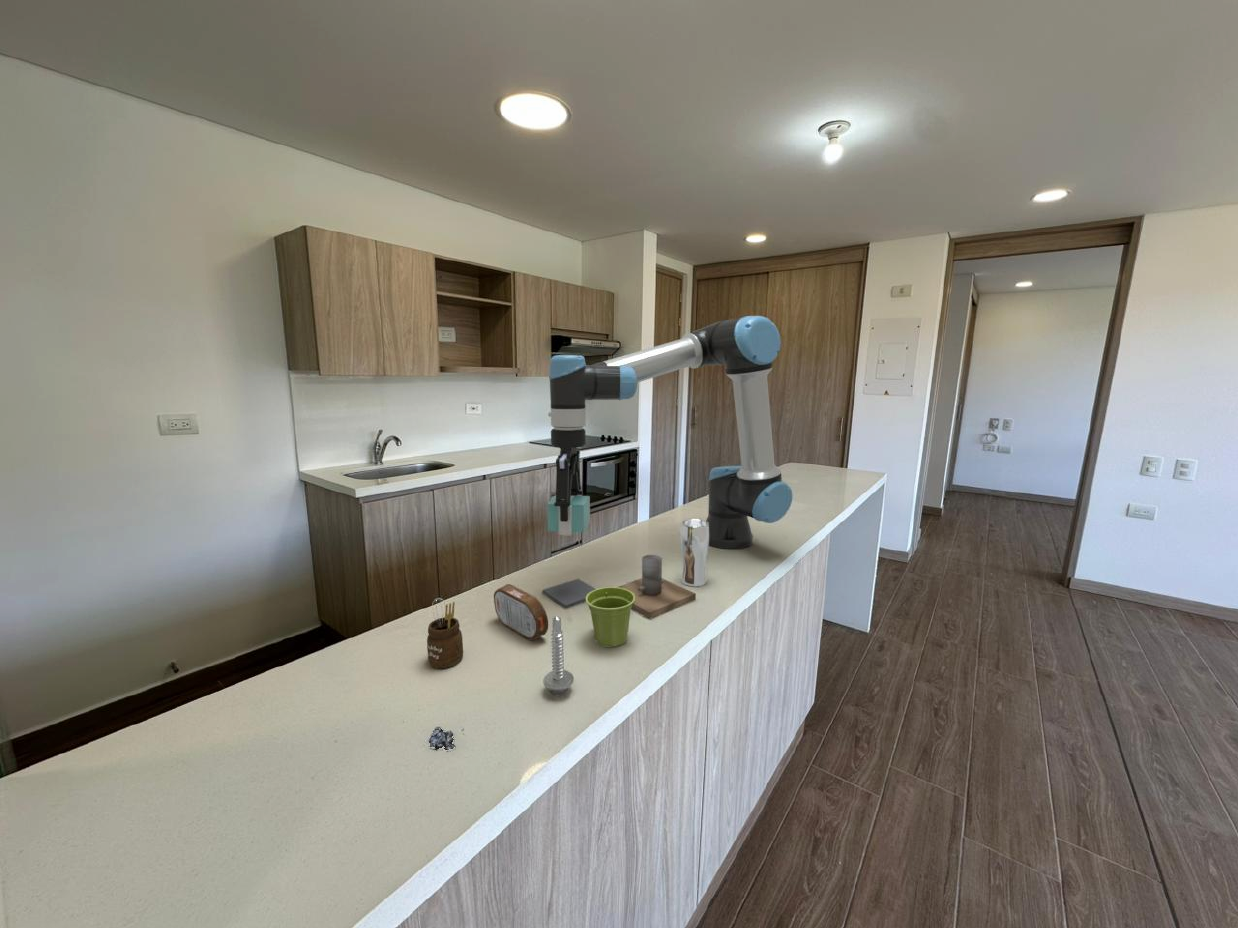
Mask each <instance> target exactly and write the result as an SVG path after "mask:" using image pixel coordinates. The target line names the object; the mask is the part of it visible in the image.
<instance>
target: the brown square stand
mask: <svg viewBox="0 0 1238 928" xmlns="http://www.w3.org/2000/svg"><path fill="white" fill-rule="evenodd" d="M662 562H663V558H662V557H661V556H660V555H658V554H646V555H643V556H642V557H641V578H638V579H636V580H633V581H630V582H627V583H625V584H621V585H619V586H617V587H619V588H624V589H627V590H629V591H631V592H632V593H633V594H634V595H635V601H634V603H633V605H632V608H631V611H632V610H633V611H634V612H636V613H638V614H640V615H642V616H643V617H644V618H647V619H648V620H652V619H654V618H656V617H658V616H660V615H663V614H667V613H668V612H670V611H672V610H675V609H677V608H679V607H682V606H684V605H687V604H690V603H691V602H693V601H696V600H697V597H696V596H697V594H696V592H693V591H691V590H689V589H686V588H684V587H683V586H680V585H678V584H677V583H673V582H671V581H669V580H667V579H665V578H664V577H662V570H663V568H662V567H663V563H662Z"/></svg>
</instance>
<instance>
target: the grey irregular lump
mask: <svg viewBox="0 0 1238 928" xmlns="http://www.w3.org/2000/svg"><path fill="white" fill-rule="evenodd" d="M441 728H442V727H440V726H436V727H435V728H434V730H433V731H432V732H433V733H432V732H431V735H430V736H431V737H430V736H429V737H430V738H428V742H429V743H430V747H435V748H436V749H435V750H437V749H439V748H442V747H443V746H444V747H445V748H444V749H445V750H449V749H453V748H454V747H457V746H456V745H455V743H454V744H452V742H453V740H454V741H455V738H454V737H453V738H454V739H453V738H452V736H453V735H454V732H452V731H451V730H448V731H444V729H443V728H442V729H443V730H442V729H441ZM443 731H444V732H443Z"/></svg>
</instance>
